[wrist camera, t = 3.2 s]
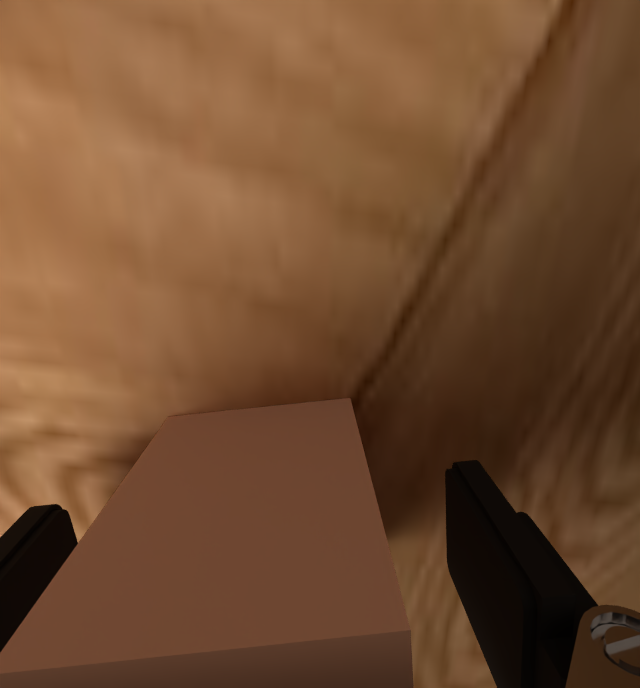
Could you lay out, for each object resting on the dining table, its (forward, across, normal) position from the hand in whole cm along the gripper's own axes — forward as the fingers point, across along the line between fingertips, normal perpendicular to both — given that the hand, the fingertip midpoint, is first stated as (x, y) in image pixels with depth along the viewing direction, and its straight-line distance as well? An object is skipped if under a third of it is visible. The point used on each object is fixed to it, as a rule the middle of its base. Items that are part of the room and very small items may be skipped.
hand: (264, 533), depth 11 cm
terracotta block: (+2, 0, 0) cm, 2 cm away
